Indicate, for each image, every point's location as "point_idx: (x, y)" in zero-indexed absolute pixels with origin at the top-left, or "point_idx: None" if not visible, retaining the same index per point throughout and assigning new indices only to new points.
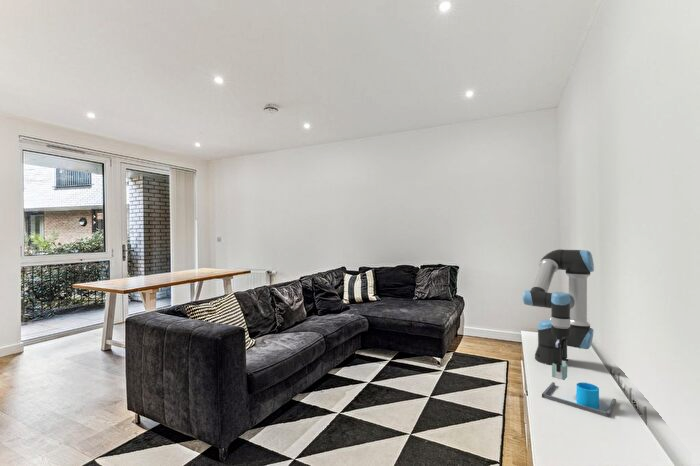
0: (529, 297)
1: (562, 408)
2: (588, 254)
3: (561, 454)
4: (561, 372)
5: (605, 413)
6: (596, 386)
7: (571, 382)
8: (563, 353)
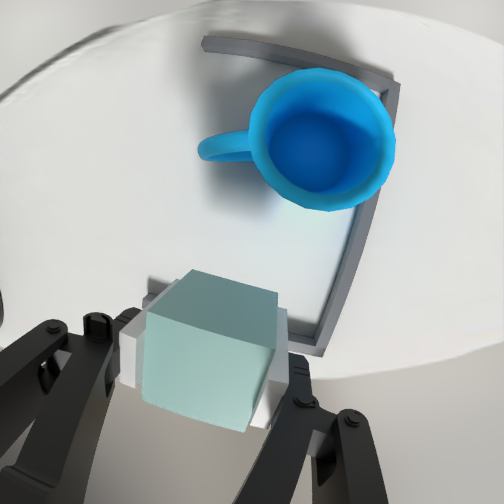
0: None
1: (399, 268)
2: None
3: None
4: (287, 342)
5: (398, 96)
6: (287, 77)
7: (77, 220)
8: (88, 419)
